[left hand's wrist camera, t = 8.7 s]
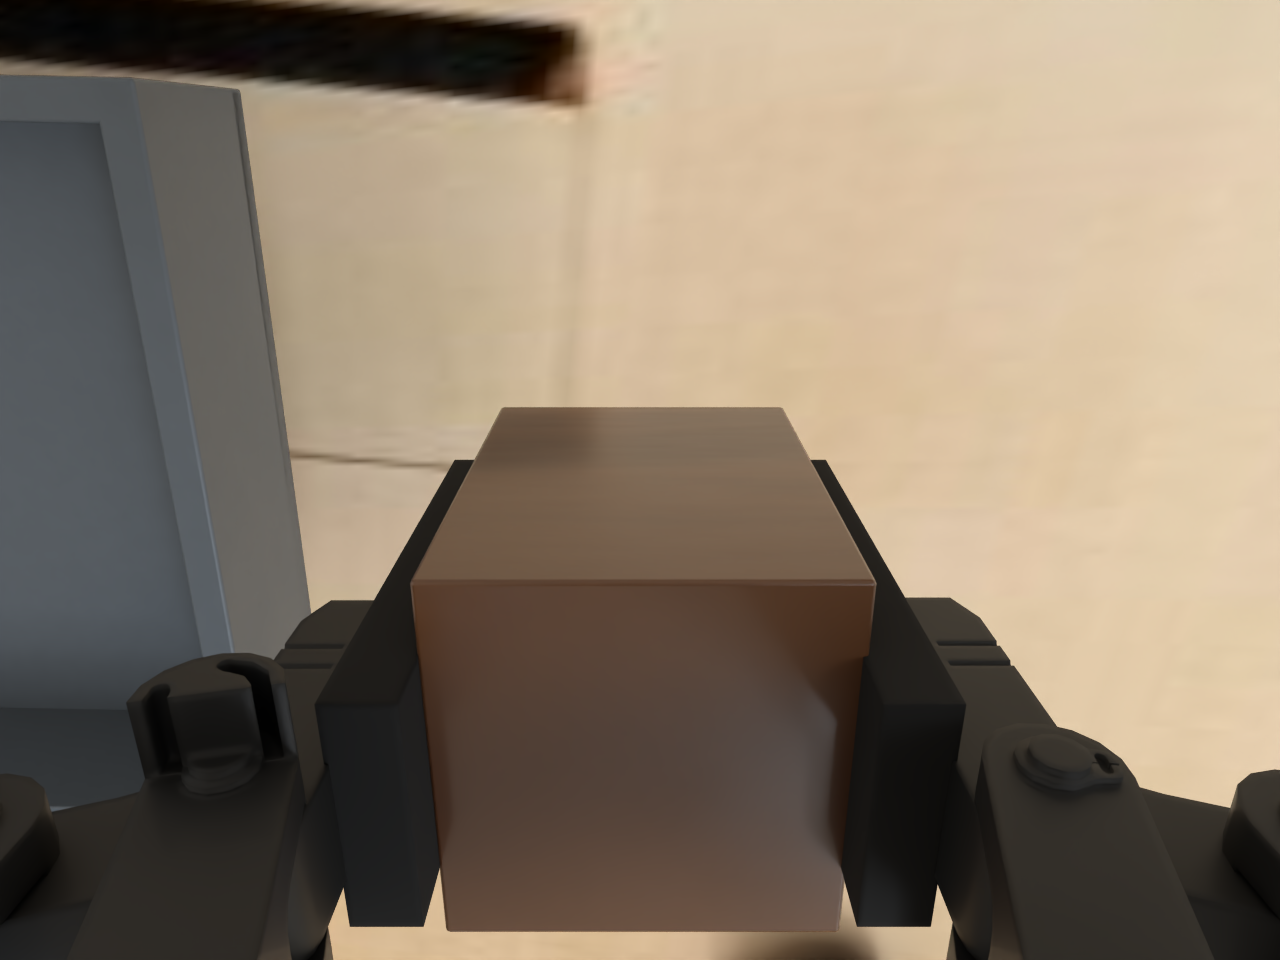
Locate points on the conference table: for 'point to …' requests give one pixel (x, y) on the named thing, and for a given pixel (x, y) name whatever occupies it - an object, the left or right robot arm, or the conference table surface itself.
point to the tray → (131, 417)
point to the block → (641, 675)
